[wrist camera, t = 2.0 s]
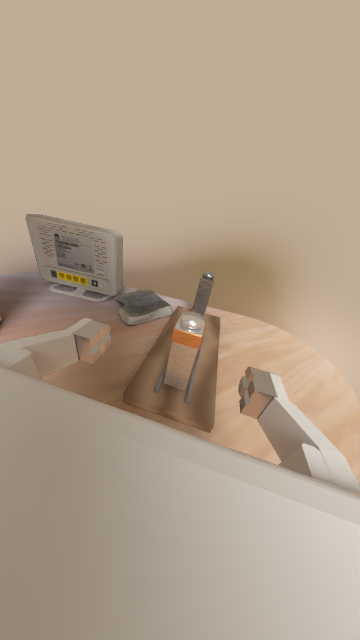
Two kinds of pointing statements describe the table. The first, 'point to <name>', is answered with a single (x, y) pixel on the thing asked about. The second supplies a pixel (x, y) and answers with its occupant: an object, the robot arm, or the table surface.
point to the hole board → (201, 388)
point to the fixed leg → (203, 292)
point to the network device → (77, 256)
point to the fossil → (142, 307)
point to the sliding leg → (184, 349)
